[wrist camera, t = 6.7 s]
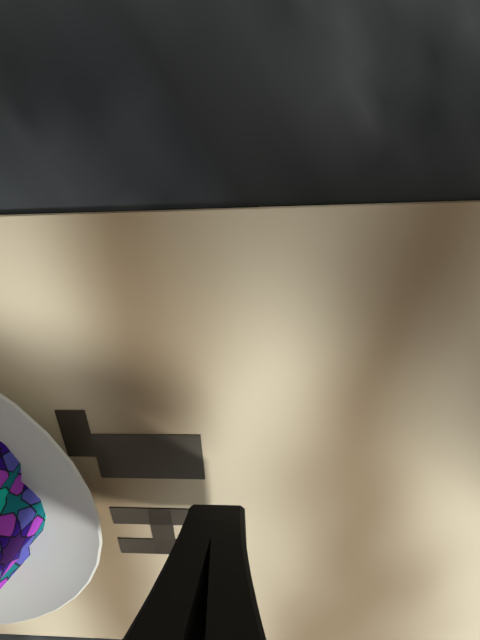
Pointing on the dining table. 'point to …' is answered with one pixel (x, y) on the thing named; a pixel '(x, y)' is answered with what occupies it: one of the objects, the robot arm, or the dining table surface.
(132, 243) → the board
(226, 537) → the robot arm
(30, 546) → the pudding
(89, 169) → the dining table surface
